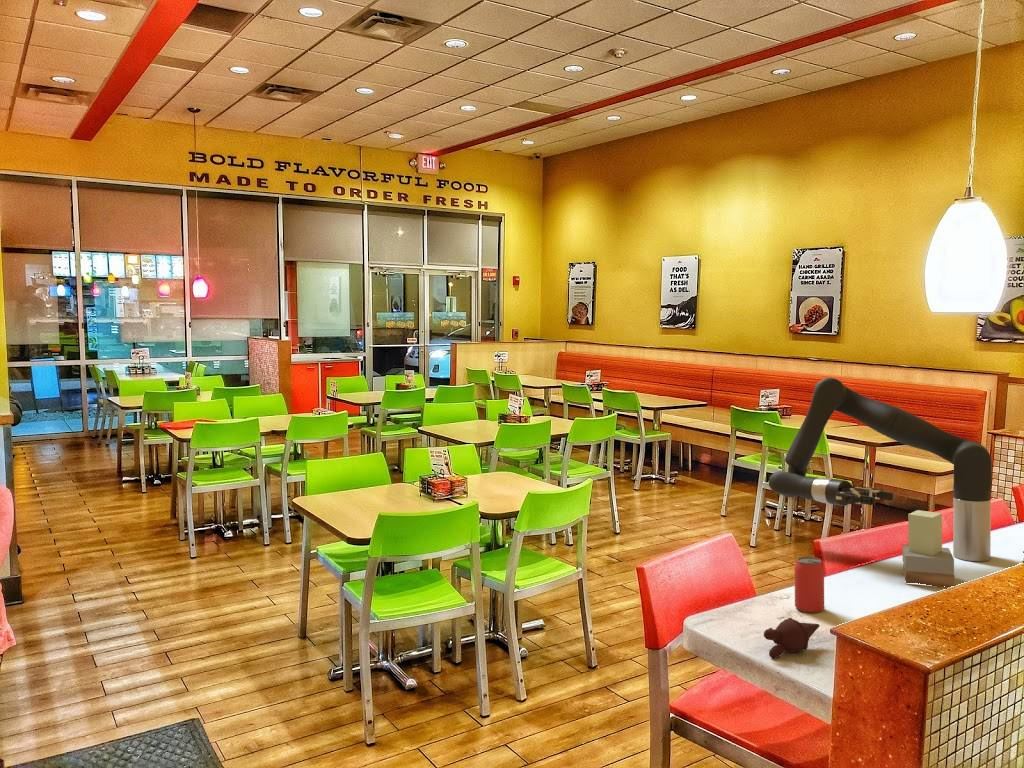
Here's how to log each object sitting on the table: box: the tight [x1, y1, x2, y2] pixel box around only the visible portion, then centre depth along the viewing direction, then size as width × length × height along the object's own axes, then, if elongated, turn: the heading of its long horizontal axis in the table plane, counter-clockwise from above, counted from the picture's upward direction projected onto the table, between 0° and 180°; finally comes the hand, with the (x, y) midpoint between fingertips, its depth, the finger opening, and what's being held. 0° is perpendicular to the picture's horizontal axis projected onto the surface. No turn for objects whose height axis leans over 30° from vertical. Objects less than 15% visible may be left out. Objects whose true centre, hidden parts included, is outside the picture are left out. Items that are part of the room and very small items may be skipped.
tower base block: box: [902, 563, 955, 589], centre depth 200 cm, size 11×11×4 cm
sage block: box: [907, 509, 943, 556], centre depth 200 cm, size 6×6×10 cm
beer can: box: [793, 556, 825, 614], centre depth 182 cm, size 7×7×12 cm
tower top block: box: [902, 544, 955, 576], centre depth 200 cm, size 11×11×4 cm
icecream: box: [763, 617, 820, 659], centre depth 158 cm, size 7×7×15 cm
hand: (883, 499), depth 210 cm, fingers open, 8 cm apart
